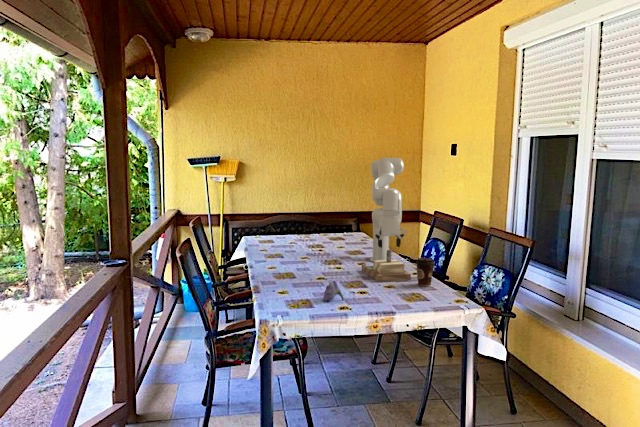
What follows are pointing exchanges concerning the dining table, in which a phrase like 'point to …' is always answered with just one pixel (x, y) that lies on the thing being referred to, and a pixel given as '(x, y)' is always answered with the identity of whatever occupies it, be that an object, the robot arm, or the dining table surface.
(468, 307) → the dining table surface
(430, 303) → the dining table surface
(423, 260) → the coffee cup
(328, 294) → the grey arched piece
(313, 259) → the dining table surface
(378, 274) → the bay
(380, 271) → the square knob plate
